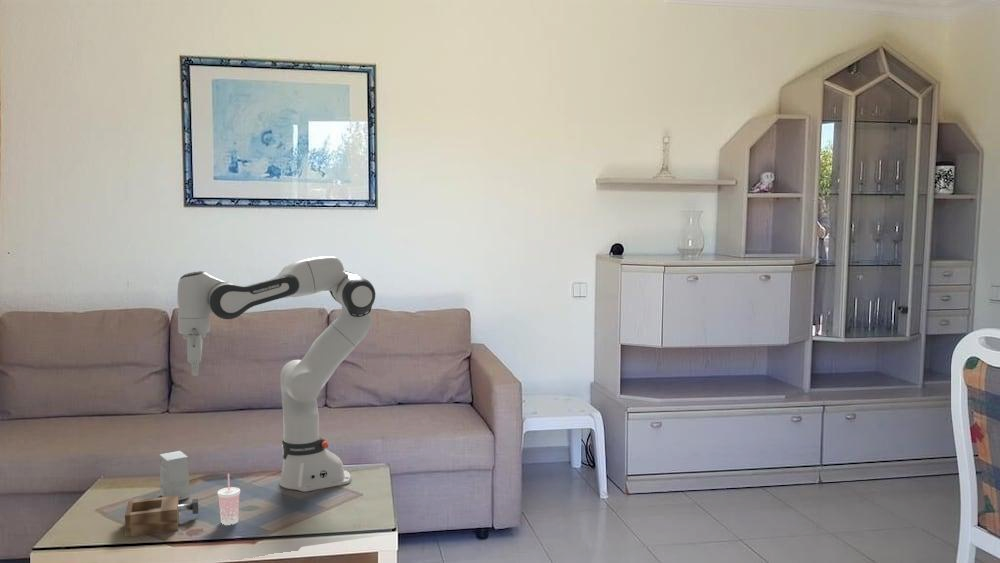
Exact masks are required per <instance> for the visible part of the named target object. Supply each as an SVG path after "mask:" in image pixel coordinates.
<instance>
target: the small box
mask: <svg viewBox="0 0 1000 563" xmlns="http://www.w3.org/2000/svg"><path fill="white" fill-rule="evenodd" d="M189 466H190V465H189V456H188V455H186V454H185V453H184V452H182V451H181V450H177V451H176V450H175V451H172V452H171V451H170V452H166V453H160V454H159V472H160V474H159V475H160V476H159V477H160V496H161V497H169V496H178V499H179V501H182V500H186V499H190V477H189V476H190V472H189V469H190V468H189Z"/></svg>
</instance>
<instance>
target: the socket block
mask: <svg viewBox="0 0 1000 563" xmlns="http://www.w3.org/2000/svg"><path fill="white" fill-rule="evenodd" d="M179 501H180V500H179V499H178V496H169V497H162V496H161V497H152V498H144V499H136V500H128V501H127V506H126V510H125V513H124V526H125V538H130V537H137V536H145V535H153V534H161V533H162V534H163V533H169V532H177V531H179V521H180V511H179V512H178V505H180V504H179ZM157 507H161V509H156V510H149V508H157Z"/></svg>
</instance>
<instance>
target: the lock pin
mask: <svg viewBox="0 0 1000 563" xmlns="http://www.w3.org/2000/svg"><path fill="white" fill-rule="evenodd" d="M156 509H161V507H157V508H149V510H156ZM186 511H192V515H195V514H196V515H197V514H199V498H192V503H185V504H179V505H178V512H179V513H180V512H186Z"/></svg>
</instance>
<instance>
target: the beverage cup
mask: <svg viewBox="0 0 1000 563" xmlns="http://www.w3.org/2000/svg"><path fill="white" fill-rule="evenodd" d="M230 483H231V482H230V473H227V487H224V488H221V489H219V490H218V491H217V496H218V501H219V513H220V514H219V516H220V524H221V523H222V524H221V525H223V524H224V525H223V526H231V524H232V525H235V524H237V523H239V512H240V510H239V508H240V494H241V489H240V488H239V487H237V486H236V487H233V486H231V485H230Z"/></svg>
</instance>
